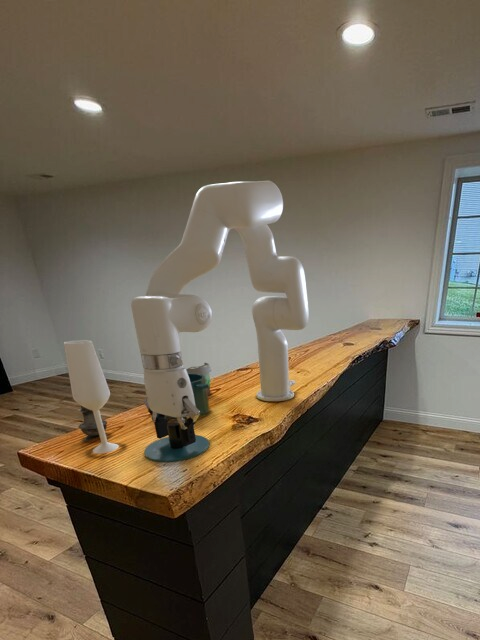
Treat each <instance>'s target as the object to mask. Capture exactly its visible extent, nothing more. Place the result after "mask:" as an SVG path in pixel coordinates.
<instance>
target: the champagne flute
mask: <svg viewBox="0 0 480 640" xmlns="http://www.w3.org/2000/svg"><path fill="white" fill-rule="evenodd" d="M63 348H64V352H65V353H64V354H65V360H66V365H67V371H68V377H69V383H70V388H71V395H72V399H73V400H74V402H75V403H76V404H78V405H79V406H80V407H81V406H83V407H85V408H87V409H89V410H92V411H93V413H94V417H95V421H96V425H97V428H98V432H99V436H100V437H99V439H100V444H99V445H97V446H96V447H94V448H93V449H92V453H94V454H106V453H107V454H108V453H111V452H114V451H116V450H117V449H119V447H120V445H119V444H117V443H114V442H110V441H109V442H108V439H107V434H105V433H106V430H104V426H103V423H102V420H103V419H102V415H101V411H100V410H101V409H102V408H103V407H104V406H105V405H106V404H107V402H108V401H109V399H110V396H111V391H110V388H109V384H108V383H107V379H106V377H105V374H104V371H103V368H102V366H101V363H100V360H99V357H98V354H97V352H96V349H95V346H94V343H93V341H92V340H88V339H82V340H81V339H80V340H68V341H64V342H63Z"/></svg>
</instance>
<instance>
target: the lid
mask: <svg viewBox="0 0 480 640" xmlns="http://www.w3.org/2000/svg"><path fill="white" fill-rule="evenodd" d="M166 426H167V431H168V436H165V437H163V438H161V439H157V440H155V441H153V442H151V443H150V444H148V445H147V446H146V447H145V449H144V450H143V451H144V452H143V454H144V456H145V458H146V459H148V460H150V461H152V462H157V463H174V462H175V463H176V462H182V461H186V460H190V459H193V458H195V457H196V458H197V457H198V456H200V455H202V454H203V453H206V451H207V450H208V449H209V448H210V440H209V439H208V438H207V437H204V436H202V435H199V434H195V438H196V442H194V443H192V444H190V445H188V446H183V445H182V439H181V433H180V429H182V427H181V425H180V424H179V422H178V420H174V421H169V423H167V424H166Z"/></svg>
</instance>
